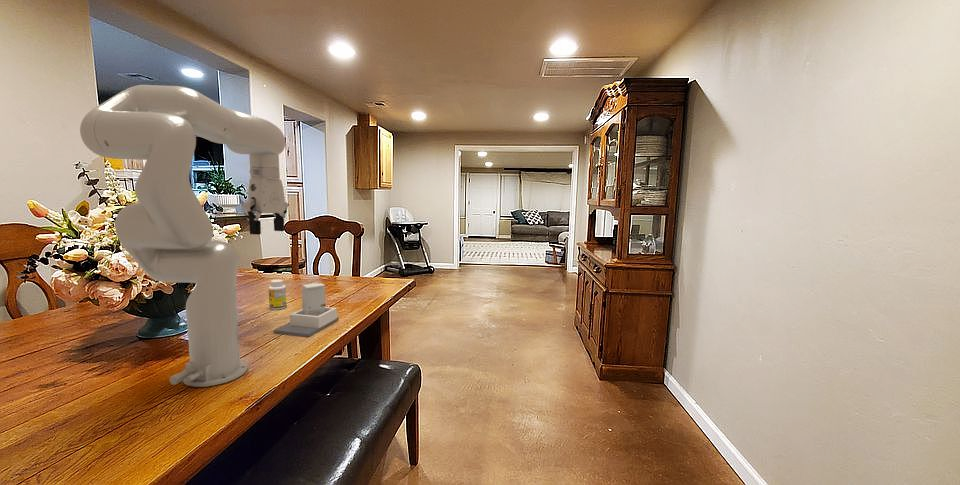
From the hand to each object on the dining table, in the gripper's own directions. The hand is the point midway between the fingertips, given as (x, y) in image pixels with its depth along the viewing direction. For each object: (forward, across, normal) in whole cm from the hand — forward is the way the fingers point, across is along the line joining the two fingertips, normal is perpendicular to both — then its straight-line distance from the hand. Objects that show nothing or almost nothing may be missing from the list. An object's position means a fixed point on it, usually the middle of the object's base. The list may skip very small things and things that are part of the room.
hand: (267, 232), depth 116 cm
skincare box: (+30, +8, -9) cm, 32 cm away
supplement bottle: (+31, +20, +14) cm, 39 cm away
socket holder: (+30, +6, -8) cm, 32 cm away
